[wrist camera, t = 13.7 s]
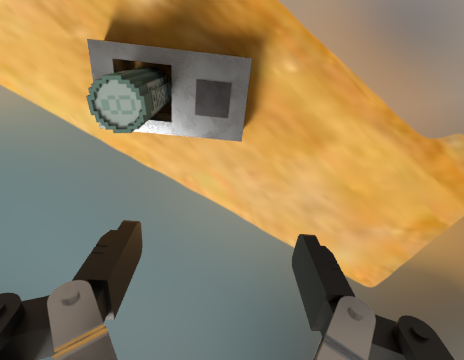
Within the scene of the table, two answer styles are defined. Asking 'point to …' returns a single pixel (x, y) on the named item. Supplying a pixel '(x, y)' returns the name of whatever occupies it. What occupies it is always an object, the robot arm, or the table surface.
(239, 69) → the block with square hole
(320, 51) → the table surface
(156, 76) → the can
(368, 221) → the table surface
